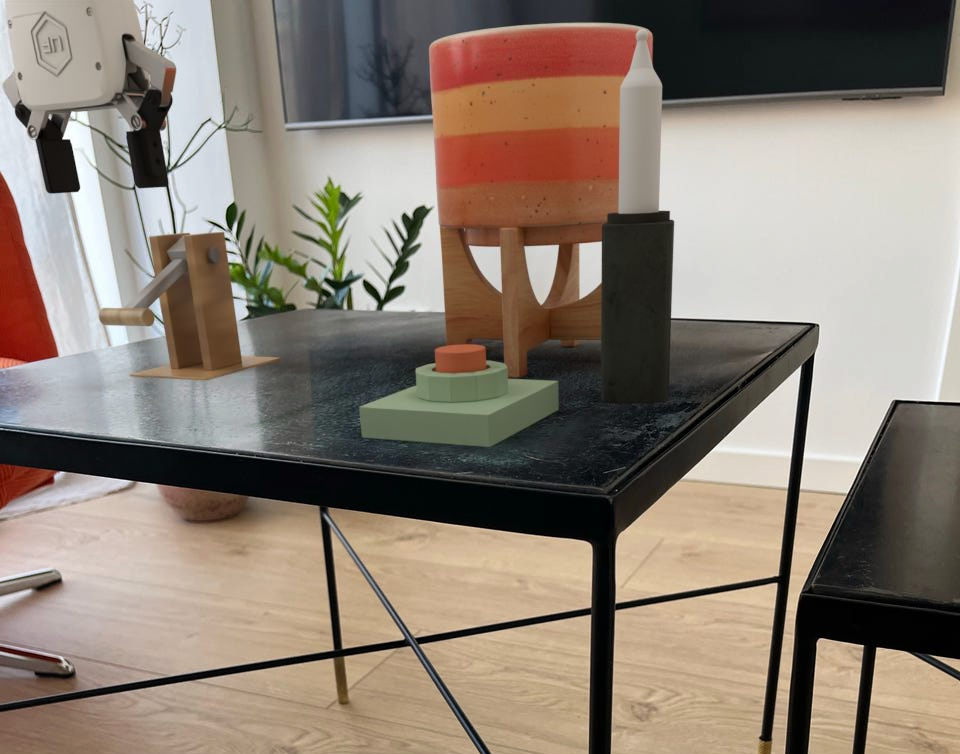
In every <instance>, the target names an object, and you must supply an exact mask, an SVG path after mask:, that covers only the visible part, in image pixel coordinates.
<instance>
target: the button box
mask: <svg viewBox="0 0 960 754" xmlns="http://www.w3.org/2000/svg"><path fill="white" fill-rule="evenodd" d="M559 404H560V403H559V381H558V380H547V379H546V380H545V379H525V378H523V379H521V378H508V368H507V366H506V364H505V363H504V362H499V361H494V360H486V370H483V371H477V372H470V373H439V372H436V362H433V363H428V364H424V365H422V366H419V367H416V368H415V385H413V386H410V387H408V388H405V389H402V390H400V391H397V392H395V393H392V394H389V395H387V396H384V397H382V398H379V399H376V400H373V401H370V402H369V403H366V404H363V405H360V406H358V409H359V410H358V411H359V418H360V419H359V420H360V421H359V422H360V429H361V430H360V431H361V438H363V439H379V440H390V441H391V440H392V441H405V442H415V443H432V444H444V445H457V446H471V447H484V448H491V447H493V446H495V445H496V444H498V443H500V442H502V441H504V440H506V439H508V438H509V437H511V436H514V435H515V434H516V433H518V432H520V431H523V430H524V429H526V428H528V427H529V426H532V425H534V424H536V423H537V422H539V421H541V420H543V419H544V418H546V417H548V416H550V415H552V414H554V413H556V412H557V411H559V409H560V408H559Z"/></svg>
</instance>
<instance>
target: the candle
mask: <svg viewBox="0 0 960 754" xmlns="http://www.w3.org/2000/svg"><path fill="white" fill-rule="evenodd" d="M647 38H648V33H647V31H646V30H645V29H640V30H639V31H638V32H637V34H636V39H637V45H636V48H635V52H634V56H633V59H632V63H631V67H630V70H629V72H628V74H627V76H626V77H625V79H624V81H623V83H622V85H621V87H620V131H619V212H618V213H608V214H607V223H605V224H603V225H602V242H601V282H602V286H601V340H600V401H601V402H602V403H606V404H660V403H665V402H667V401H668V394H669V393H670V390H669V389H670V365H671V364H670V363H671V335H672V334H671V333H672V332H671V330H672V301H673V274H674V273H673V271H674V270H673V269H674V267H673V266H674V246H675V245H674V243H675V242H674V241H675V240H674V239H675V220H674V219H671V210H660V187H661V185H660V183H661V147H662V114H663V113H662V110H663V109H662V108H663V84H662V81H661V79H660V77H659V76H658V74H657V72H656V71H655V69H654V66H653V65H654V64H653V65H652V61H651V57H650V53H649V49H648V45H647Z"/></svg>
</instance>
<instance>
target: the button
mask: <svg viewBox="0 0 960 754" xmlns="http://www.w3.org/2000/svg"><path fill="white" fill-rule="evenodd" d="M434 359H435V361H434V363H436V372H439V373H470V372H477V371H483V370H486V361H487V350H486V346H484V345H481V344H473V343H472V344H462V345H449V346H447V345H444V346H439V347H437V348H435V349H434Z"/></svg>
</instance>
